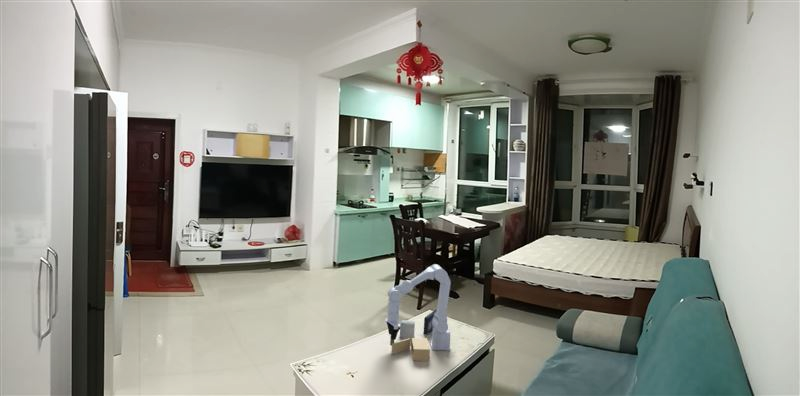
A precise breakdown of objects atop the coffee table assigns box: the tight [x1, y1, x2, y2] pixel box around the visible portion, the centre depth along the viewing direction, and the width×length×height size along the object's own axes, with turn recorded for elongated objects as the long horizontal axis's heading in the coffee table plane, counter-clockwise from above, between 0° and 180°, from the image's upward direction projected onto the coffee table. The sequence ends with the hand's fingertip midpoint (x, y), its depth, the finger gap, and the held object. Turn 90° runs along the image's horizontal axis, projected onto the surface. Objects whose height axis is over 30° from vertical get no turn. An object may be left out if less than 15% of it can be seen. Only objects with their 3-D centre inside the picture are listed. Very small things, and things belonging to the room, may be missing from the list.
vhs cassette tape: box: [423, 308, 437, 335], centre depth 233 cm, size 18×3×10 cm, turn 147°
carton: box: [410, 337, 431, 362], centre depth 202 cm, size 8×12×6 cm, turn 4°
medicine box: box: [399, 319, 416, 340], centre depth 222 cm, size 8×4×9 cm, turn 84°
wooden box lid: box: [389, 336, 412, 355], centre depth 206 cm, size 5×12×10 cm, turn 127°
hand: (392, 336), depth 206 cm, fingers open, 5 cm apart
